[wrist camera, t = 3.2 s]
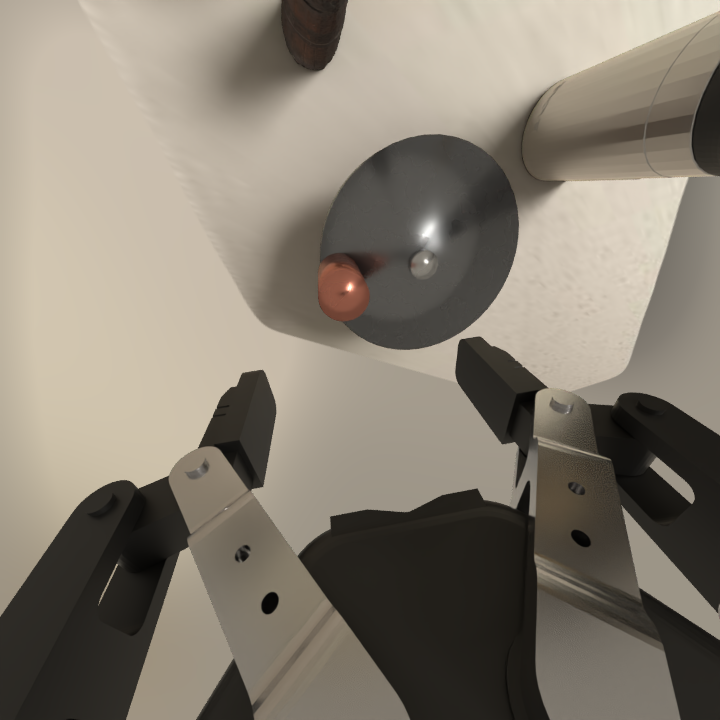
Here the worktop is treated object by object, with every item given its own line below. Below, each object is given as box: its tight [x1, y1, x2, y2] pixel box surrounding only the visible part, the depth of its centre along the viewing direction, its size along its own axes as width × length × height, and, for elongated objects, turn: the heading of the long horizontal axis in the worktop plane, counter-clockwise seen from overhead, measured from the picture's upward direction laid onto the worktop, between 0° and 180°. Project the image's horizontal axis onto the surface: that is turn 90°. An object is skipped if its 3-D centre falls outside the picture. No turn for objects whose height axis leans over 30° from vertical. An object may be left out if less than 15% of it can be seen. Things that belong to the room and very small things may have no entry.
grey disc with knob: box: [318, 134, 519, 350], centre depth 23 cm, size 18×18×8 cm
